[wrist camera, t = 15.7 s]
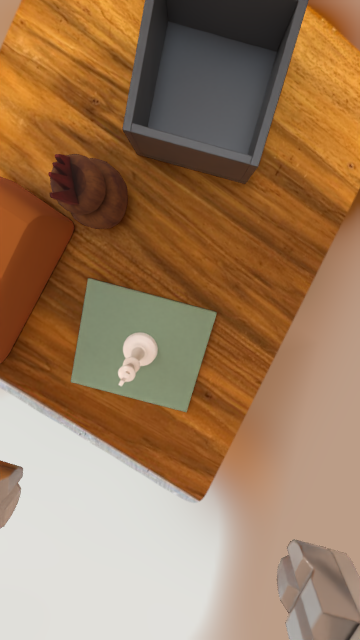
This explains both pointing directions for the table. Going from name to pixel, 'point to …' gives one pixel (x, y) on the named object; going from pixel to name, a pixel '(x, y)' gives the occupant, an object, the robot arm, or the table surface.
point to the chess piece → (136, 355)
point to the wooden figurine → (89, 190)
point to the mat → (146, 317)
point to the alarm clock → (25, 255)
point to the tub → (210, 81)
